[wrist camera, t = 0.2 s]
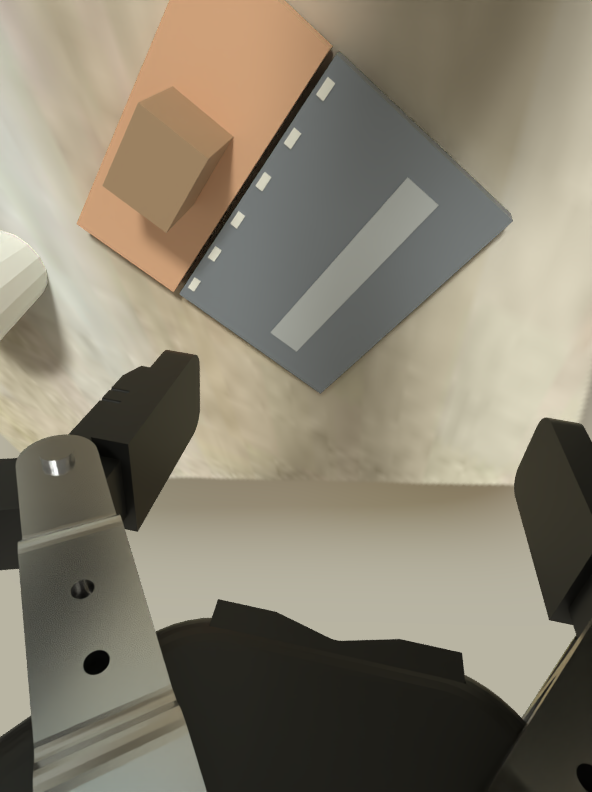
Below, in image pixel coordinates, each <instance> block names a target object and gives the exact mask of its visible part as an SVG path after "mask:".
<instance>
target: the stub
mask: <svg viewBox="0 0 592 792" xmlns="http://www.w3.org/2000/svg"><path fill="white" fill-rule="evenodd" d="M332 47H333V46H332V45H331V44H330V43H329V42H328V41H327V40H326V39H325V38H324V37H323V36H322V35H321V34H319V33H318V32H317V31H316V30H315V29H314V28H313V27H312V26H311V25H310V24H309V23H308V22H307V21H306V20H305V19H304V18H303V17H301V16H300V15H299V14H298V13H297V12H296V11H295V10H294V9H293V8H292V7H291V6H290V5H289V4H288V3H287V2H286V1H285V0H169V3H168V5H167V7H166V10H165V12H164V15H163V17H162V19H161V22H160V24H159V27H158V29H157V31H156V34H155V36H154V39H153V41H152V43H151V46H150V48H149V51H148V53H147V56H146V58H145V60H144V63H143V65H142V68H141V70H140V72H139V75H138V77H137V80H136V82H135V84H134V87H133V89H132V92H131V94H130V96H129V99H128V101H127V104H126V106H125V109H124V111H123V113H122V116H121V118H120V121H119V123H118V125H117V128H116V130H115V133H114V135H113V137H112V140H111V142H110V145H109V147H108V149H107V152H106V154H105V157H104V159H103V161H102V164H101V166H100V169H99V171H98V174H97V176H96V178H95V181H94V183H93V186H92V188H91V190H90V193H89V195H88V198H87V200H86V202H85V205H84V207H83V210H82V212H81V214H80V217H79V219H78V222H77V225H79V226H80V227H82V228H83V229H84V230H86V231H87V232H89V233H90V234H92V235H93V236H94V237H96V238H97V239H99V240H100V241H102V242H103V243H104V244H106V245H107V246H109V247H110V248H111V249H113V250H114V251H116V252H117V253H119V254H120V255H121V256H123V257H124V258H126V259H127V260H129V261H130V262H131V263H133V264H134V265H136V266H137V267H138V268H140V269H141V270H143V271H144V272H146V273H147V274H148V275H150V276H151V277H153V278H154V279H156V280H157V281H158V282H160V283H161V284H163V285H164V286H165V287H167V288H168V289H170V290H171V291H173V292H174V291H175V289H176V288H177V287H178V285H179V284H180V283H181V281H182V279H183V278H184V276H185V275H186V273H187V272H188V270H189V269H190V267H191V266H192V264H193V262H194V261H195V259H196V258H197V256H198V255H199V253H200V252H201V250H202V248H203V247H204V245H205V244H206V242H207V241H208V239H209V238H210V236H211V235H212V233H213V231H214V230H215V228H216V227H217V225H218V224H219V222H220V221H221V219H222V217H223V216H224V214H225V213H226V211H227V210H228V208H229V207H230V205H231V203H232V202H233V200H234V199H235V197H236V196H237V194H238V193H239V191H240V190H241V188H242V186H243V185H244V183H245V182H246V180H247V179H248V177H249V176H250V174H251V172H252V171H253V169H254V168H255V166H256V165H257V163H258V162H259V160H260V158H261V157H262V155H263V154H264V152H265V151H266V149H267V148H268V146H269V145H270V143H271V141H272V140H273V138H274V137H275V135H276V134H277V132H278V131H279V129H280V127H281V126H282V124H283V123H284V121H285V120H286V118H287V117H288V115H289V113H290V112H291V110H292V109H293V107H294V106H295V104H296V103H297V101H298V100H299V98H300V96H301V95H302V93H303V92H304V90H305V89H306V87H307V86H308V84H309V82H310V81H311V79H312V78H313V76H314V75H315V73H316V72H317V70H318V68H319V67H320V65H321V64H322V62H323V61H324V59H325V58H326V56H327V55H328V53H329V51H330V50H331V48H332Z"/></svg>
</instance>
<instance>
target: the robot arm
mask: <svg viewBox="0 0 592 792" xmlns="http://www.w3.org/2000/svg"><path fill="white" fill-rule="evenodd" d="M199 413H200V365H199V358H198V356H197V355H193V354H188V353H182V352H176V351H170V350H165V351H164V352H163V353H162V354H161V355H160V357H159V358H158V359H157V360H156V361H155V362H154V364H153V365H152V366H151V367H144V366H140V367H138V368H136V369H134V370H132V371H130V372H129V373H127V374H125V375H123V376H122V377H121V378H120V379H119V380H118V381H117V382H116V383H115V385H114V386H113V387H112V389H111V390H109V391H108V392H107V393H106V394H105V395H104V396H103V398H102V401H99V402H98V403H97V404H96V405H95V406H94V407H93V408H92V409H91V411H90V412H89V413H88V414H87V415H86V416H85V417H84V418H83V419H82V420H81V421H80V423H79V424H78V425H77V426H76V427H75V428H74V429H73V430H72V431H71V432H70V433H69V434H68V435H56V436H51V437H47V438H44V439H41V440H39V441H37V442H35V443H33V444H31V445H30V446H28V447H27V448H26V449H24V450H23V451H22V452H21V453H20V455H19V457H18V458H13V459H0V570H8V569H19V570H20V571H19V572H20V584H21V597H22V609H23V620H24V633H25V645H26V657H27V668H28V682H29V693H30V706H31V716H30V717H28V718H27V719H25V720H24V721H23V722H21V723H20V724H18V725H17V726H15V727H14V728H13V729H11V730H10V731H8V732H7V733H6V734H4V735H3V736H1V737H0V792H592V442H591V440H590V438H589V436H588V434H587V432H586V430H585V428H584V427H583V425H582V424H580V423H575V422H569V421H563V420H557V419H552V418H543V419H542V420H541V421H540V422H539V424H538V426H537V428H536V430H535V432H534V434H533V436H532V439H531V441H530V443H529V445H528V447H527V450H526V452H525V454H524V456H523V458H522V461H521V463H520V465H519V467H518V470H517V473H516V477H515V483H514V492H515V498H516V501H517V505H518V509H519V512H520V516H521V519H522V523H523V527H524V530H525V534H526V537H527V541H528V544H529V548H530V552H531V556H532V559H533V563H534V566H535V570H536V574H537V577H538V581H539V584H540V588H541V592H542V595H543V599H544V603H545V606H546V610H547V614H548V617H549V620H551V621H556V622H561V623H566V624H570V625H574V629H575V631H576V636H575V637H574V639H573V640H572V642H571V643H570V644H569V646H568V647H567V649H566V651H565V652H564V654H563V655H562V657H561V658H560V660H559V661H558V663H557V664H556V666H555V667H554V669H553V671H552V672H551V674H550V675H549V677H548V678H547V680H546V681H545V683H544V684H543V686H542V688H541V689H540V691H539V692H538V694H537V695H536V697H535V698H534V700H533V701H532V703H531V704H530V706H529V708H528V709H527V711H526V712H525V714H524V715H523V716H522V718H521V717H520V716H519V715H518V714H517V713H516V712H515V711H514V710H513V709H512V708H511V707H510V706H509V705H508V704H507V703H505V702H504V701H503V700H502V699H501V698H500V697H498V696H497V695H496V694H494V693H493V692H492V691H490V690H489V689H488V688H486V687H485V686H483V685H481V684H480V683H478V682H477V681H475V680H473V679H472V678H470V677H467V676H466V675H464V667H463V659H462V653H460V652H456V651H451V650H447V649H442V648H437V647H433V646H429V645H424V644H419V643H415V642H410V641H406V640H401V639H392V640H360V641H359V640H358V641H337V640H333V639H330V638H328V637H326V636H324V635H322V634H320V633H318V632H316V631H314V630H312V629H310V628H308V627H306V626H304V625H302V624H300V623H298V622H296V621H294V620H291V619H289V618H287V617H285V616H283V615H281V614H279V613H277V612H273V611H269V610H265V609H260V608H256V607H251V606H247V605H242V604H237V603H232V602H228V601H223V600H219V599H218V601H217V604H216V608H215V610H214V613H213V616H212V618H200V619H194V620H188V621H184V622H180V623H176V624H173V625H170V626H168V627H166V628H163V629H160V630H159V631H156V632H155V629H154V625H153V622H152V619H151V616H150V612H149V609H148V605H147V602H146V599H145V595H144V592H143V589H142V585H141V582H140V579H139V575H138V572H137V569H136V565H135V562H134V559H133V555H132V552H131V548H130V545H129V542H128V538H127V535H126V532H125V529H128V530H132V531H138V530H139V528H140V527H141V525H142V523H143V521H144V520H145V518H146V516H147V514H148V512H149V511H150V509H151V507H152V506H153V504H154V502H155V500H156V499H157V497H158V495H159V494H160V492H161V490H162V488H163V487H164V485H165V483H166V481H167V480H168V478H169V476H170V474H171V473H172V471H173V469H174V467H175V466H176V464H177V462H178V460H179V459H180V457H181V455H182V453H183V452H184V450H185V448H186V446H187V445H188V443H189V441H190V440H191V438H192V436H193V434H194V432H195V430H196V427H197V424H198V419H199Z"/></svg>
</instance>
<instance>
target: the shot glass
mask: <svg viewBox="0 0 592 792" xmlns="http://www.w3.org/2000/svg"><path fill="white" fill-rule="evenodd" d="M47 283H48V280H47V271H46V268H45V266H44V264H43V262H42V260H41V258H40V256H39V255H38V254H37V253H36V252H35V251H34V250H33V249H32V247H31V246H30V245H29V244H28V243H26V242H25V241H23V240H22V239H20V238H19V237H17V236H16V235H14V234H11V233H8V232H4V231H1V230H0V340H1V339H2V338H3V337H4V336H5V335H6V334H7V333H8V331H9V330H10V329H11V328H12V327H13V326H14V325H15V324H16V323H17V321H18V320H19V319H20V318H21V317H22V316H23V315H24V314H25V312H26V311H27V310H28V309H29V308H30V307H31V306H32V305H33V304H34V302H35V301H36V300H37V299H38V298H39V297H40V296H41V295H42V293H43V292H44V290H45V288H46V286H47Z"/></svg>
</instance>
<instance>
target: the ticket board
mask: <svg viewBox="0 0 592 792" xmlns="http://www.w3.org/2000/svg"><path fill="white" fill-rule="evenodd" d="M512 221H513V220H512V217H511V214H510V213H509V212H508V211H507V210H506V209H505V208H504V207H503V206H502V205H501V204H500V203H499V202H498V201H497V200H496V199H495V198H494V197H493V196H492V195H490V194H489V193H488V192H487V191H486V190H485V189H484V188H483V187H482V186H481V185H480V184H479V183H478V182H477V181H476V180H475V179H474V178H473V177H471V176H470V175H469V174H468V173H467V172H466V171H465V170H464V169H463V168H462V167H461V166H460V165H459V164H458V163H457V162H456V161H455V160H454V159H452V158H451V157H450V156H449V155H448V154H447V153H446V152H445V151H444V150H443V149H442V148H441V147H440V146H439V145H438V144H437V143H436V142H435V141H433V140H432V139H431V138H430V137H429V136H428V135H427V134H426V133H425V132H424V131H423V130H422V129H421V128H420V127H419V126H418V125H417V124H415V123H414V122H413V121H412V120H411V119H410V118H409V117H408V116H407V115H406V114H405V113H404V112H403V111H402V110H401V109H400V108H399V107H398V106H396V105H395V104H394V103H393V102H392V101H391V100H390V99H389V98H388V97H387V96H386V95H385V94H384V93H383V92H382V91H381V90H380V89H379V88H377V87H376V86H375V85H374V84H373V83H372V82H371V81H370V80H369V79H368V78H367V77H366V76H365V75H364V74H363V73H362V72H361V71H360V70H358V69H357V68H356V67H355V66H354V65H353V64H352V63H351V62H350V61H349V60H348V59H347V58H346V57H345V56H344V55H343V54H342V53H341V52H338V53H337V54H336V56H335V57H334V59H333V60H332V62H331V63H330V65H329V66H328V68H327V69H326V71H325V72H324V74H323V75H322V77H321V79H320V80H319V82H318V83H317V85H316V86H315V88H314V89H313V91H312V92H311V94H310V95H309V97H308V98H307V100H306V101H305V103H304V104H303V106H302V108H301V109H300V111H299V112H298V114H297V115H296V117H295V118H294V120H293V121H292V123H291V124H290V126H289V127H288V129H287V130H286V132H285V133H284V135H283V136H282V138H281V140H280V141H279V143H278V144H277V146H276V147H275V149H274V150H273V152H272V153H271V155H270V156H269V158H268V159H267V161H266V162H265V164H264V165H263V167H262V169H261V170H260V172H259V173H258V175H257V176H256V178H255V179H254V181H253V182H252V184H251V185H250V187H249V188H248V190H247V191H246V193H245V194H244V196H243V198H242V199H241V201H240V202H239V204H238V205H237V207H236V208H235V210H234V211H233V213H232V214H231V216H230V217H229V219H228V220H227V222H226V223H225V225H224V226H223V228H222V230H221V231H220V233H219V234H218V236H217V237H216V239H215V240H214V242H213V243H212V245H211V246H210V248H209V249H208V251H207V252H206V254H205V255H204V257H203V259H202V260H201V262H200V263H199V265H198V266H197V268H196V269H195V271H194V272H193V274H192V275H191V277H190V278H189V280H188V281H187V283H186V284H185V286H184V288H183V289H182V291H181V292H180V295H181V296H183V297H184V298H185V299H187V300H188V301H190V302H191V303H193V304H194V305H195V306H197V307H198V308H200V309H201V310H203V311H204V312H205V313H207V314H208V315H210V316H211V317H212V318H214V319H215V320H217V321H218V322H220V323H221V324H222V325H224V326H225V327H227V328H228V329H229V330H231V331H232V332H234V333H235V334H237V335H238V336H239V337H241V338H242V339H244V340H245V341H246V342H248V343H249V344H251V345H252V346H254V347H255V348H256V349H258V350H259V351H261V352H262V353H264V354H265V355H266V356H268V357H269V358H271V359H272V360H273V361H275V362H276V363H278V364H279V365H281V366H282V367H283V368H285V369H286V370H288V371H289V372H290V373H292V374H293V375H295V376H296V377H298V378H299V379H300V380H302V381H303V382H305V383H306V384H308V385H309V386H310V387H312V388H313V389H315V390H316V391H317V392H319V393H320V394H321V393H322V392H323V391H324V390H325V389H326V388H327V387H328V386H330V385H331V384H332V383H333V382H334V381H335V380H336V379H337V378H338V377H340V376H341V375H342V374H343V373H344V372H345V371H346V370H347V369H348V368H350V367H351V366H352V365H353V364H354V363H355V362H356V361H357V360H359V359H360V358H361V357H362V356H363V355H364V354H365V353H366V352H367V351H369V350H370V349H371V348H372V347H373V346H374V345H375V344H376V343H377V342H379V341H380V340H381V339H382V338H383V337H384V336H385V335H386V334H388V333H389V332H390V331H391V330H392V329H393V328H394V327H395V326H396V325H398V324H399V323H400V322H401V321H402V320H403V319H404V318H405V317H406V316H408V315H409V314H410V313H411V312H412V311H413V310H414V309H415V308H417V307H418V306H419V305H420V304H421V303H422V302H423V301H424V300H425V299H427V298H428V297H429V296H430V295H431V294H432V293H433V292H434V291H436V290H437V289H438V288H439V287H440V286H441V285H442V284H443V283H444V282H446V281H447V280H448V279H449V278H450V277H451V276H452V275H453V274H454V273H456V272H457V271H458V270H459V269H460V268H461V267H462V266H463V265H465V264H466V263H467V262H468V261H469V260H470V259H471V258H472V257H473V256H475V255H476V254H477V253H478V252H479V251H480V250H481V249H482V248H483V247H485V246H486V245H487V244H488V243H489V242H490V241H491V240H492V239H494V238H495V237H496V236H497V235H498V234H499V233H500V232H501V231H502V230H504V229H505V228H506V227H507V226H508V225H509V224H510V223H511V222H512Z"/></svg>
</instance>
